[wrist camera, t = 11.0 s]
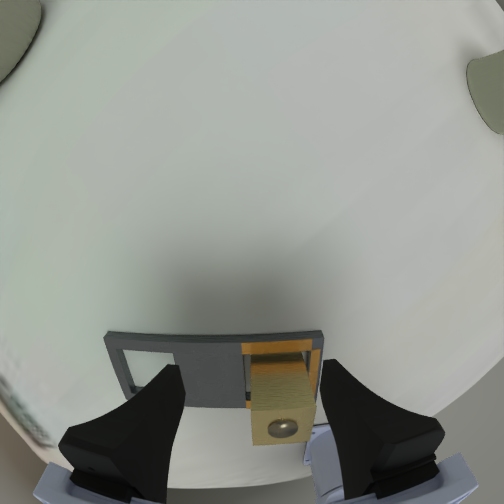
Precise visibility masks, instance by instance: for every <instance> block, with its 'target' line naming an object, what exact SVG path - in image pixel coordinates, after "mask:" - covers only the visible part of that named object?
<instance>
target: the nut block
mask: <svg viewBox="0 0 504 504" xmlns="http://www.w3.org/2000/svg"><path fill="white" fill-rule="evenodd" d="M316 407H317V406H316V402H315V399H314V395H313V391H312V388H311V384H310V380H309V377H308V373H307V370H306V366H305V362H304V359H303V355H302V352H301V351H297V352H283V353H265V354H251V423H252V439H253V445H275V444H288V443H299V442H308V441H310V439H311V434H312V429H313V424H314V418H315V413H316Z"/></svg>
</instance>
